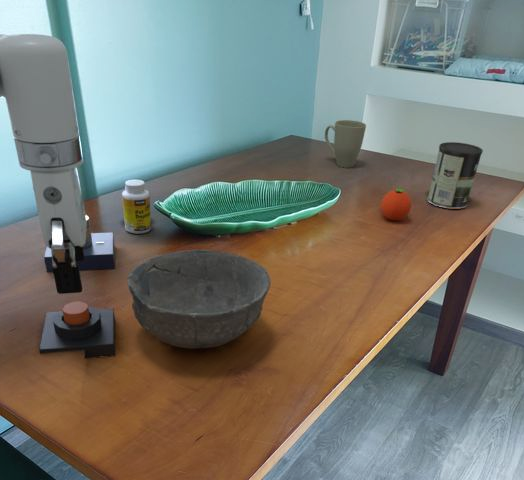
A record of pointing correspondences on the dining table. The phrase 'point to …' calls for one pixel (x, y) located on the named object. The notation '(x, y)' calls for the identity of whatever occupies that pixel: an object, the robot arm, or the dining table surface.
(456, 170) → the coffee can
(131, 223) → the supplement bottle
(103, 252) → the lock panel
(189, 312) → the bowl
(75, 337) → the button base
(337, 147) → the mug
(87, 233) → the lock knob
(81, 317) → the orange short cylinder
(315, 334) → the dining table surface
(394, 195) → the clementine
